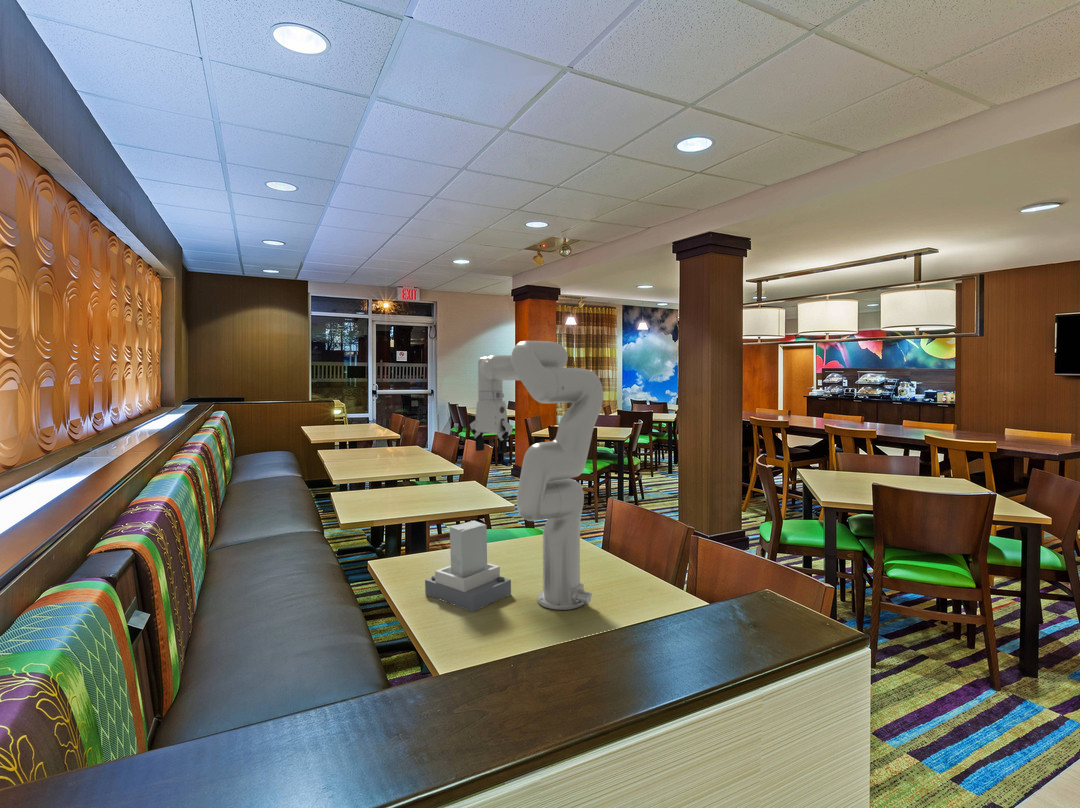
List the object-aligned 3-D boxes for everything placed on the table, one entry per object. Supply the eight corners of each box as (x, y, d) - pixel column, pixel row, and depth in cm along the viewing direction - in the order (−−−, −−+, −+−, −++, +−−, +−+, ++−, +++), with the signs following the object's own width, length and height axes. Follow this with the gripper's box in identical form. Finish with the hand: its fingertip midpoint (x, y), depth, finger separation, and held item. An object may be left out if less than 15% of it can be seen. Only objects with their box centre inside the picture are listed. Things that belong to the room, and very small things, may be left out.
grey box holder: (511, 594, 149) (510, 568, 149) (473, 612, 138) (472, 584, 138) (463, 579, 161) (463, 555, 160) (425, 594, 150) (424, 568, 149)
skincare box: (475, 573, 154) (474, 519, 153) (488, 579, 150) (488, 523, 149) (449, 580, 148) (448, 525, 148) (462, 587, 144) (461, 529, 143)
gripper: (519, 396, 172) (520, 452, 173) (479, 395, 182) (479, 448, 183) (502, 397, 166) (503, 455, 167) (462, 396, 177) (463, 450, 178)
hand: (491, 451), depth 175 cm, fingers open, 9 cm apart
